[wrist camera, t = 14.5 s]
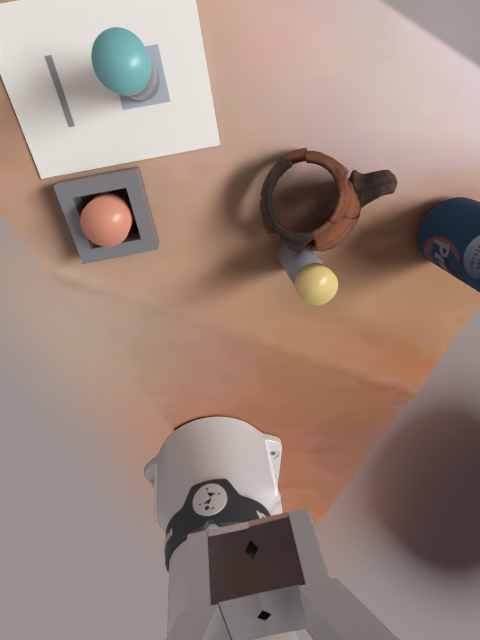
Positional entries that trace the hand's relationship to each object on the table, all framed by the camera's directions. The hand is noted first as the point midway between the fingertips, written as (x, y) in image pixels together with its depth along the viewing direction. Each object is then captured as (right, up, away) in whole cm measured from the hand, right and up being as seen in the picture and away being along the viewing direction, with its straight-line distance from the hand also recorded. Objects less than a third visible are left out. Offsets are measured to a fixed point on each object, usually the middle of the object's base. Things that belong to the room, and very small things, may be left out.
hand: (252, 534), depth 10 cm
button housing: (-12, +15, +27) cm, 33 cm away
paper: (-11, +24, +22) cm, 35 cm away
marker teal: (-8, +25, +22) cm, 34 cm away
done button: (-12, +15, +27) cm, 33 cm away
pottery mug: (+7, +18, +29) cm, 35 cm away
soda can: (+21, +15, +32) cm, 42 cm away
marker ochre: (+5, +12, +31) cm, 34 cm away
